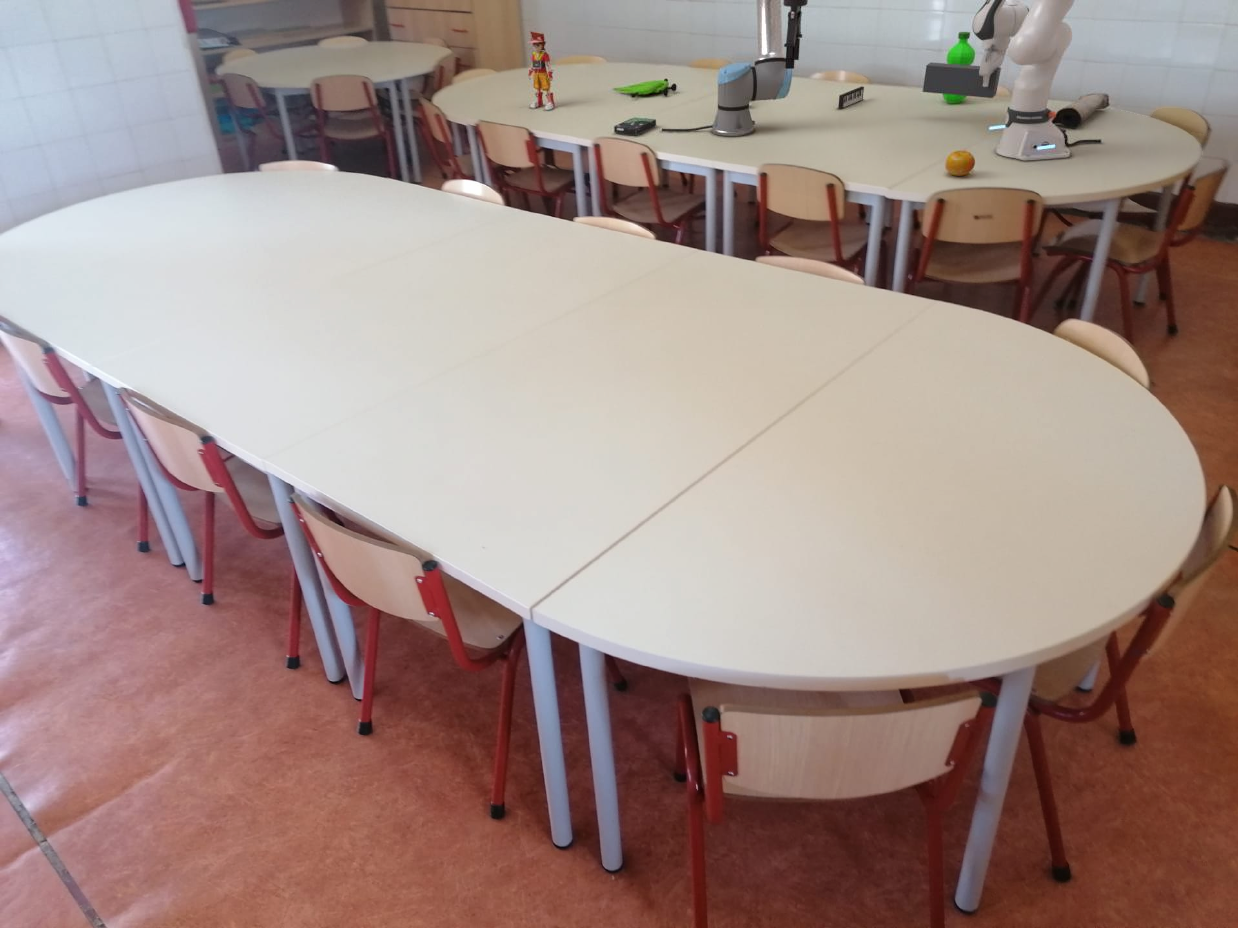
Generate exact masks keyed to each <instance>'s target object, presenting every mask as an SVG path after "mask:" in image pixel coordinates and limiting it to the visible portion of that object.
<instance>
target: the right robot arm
mask: <svg viewBox="0 0 1238 928" xmlns="http://www.w3.org/2000/svg"><path fill="white" fill-rule="evenodd" d="M1075 1H1076V0H1033V2H1032V4H1031V6H1030V7H1028V6H1027V5H1024V4H1023V3H1022V2H1020V0H985V2H984V4H983V5H982V6H981V7H980V8H979V9H978V10H977V12H976V14H975V16H974V18H973V20H972V32H973V34H974V35H975V37H977V38H978V39H979V40H980V41H981V46H980V47H981V49H983V50H984V52H983V53H982V57H981V60H980V64H979V66H980V70H979V75H980V76H983V87H987V86H988V85H989V79H990V75H991V74H992V73H993V72H994V70H995V69H996V68H998V67H999V68H1001V66H1003V63H1004V60H1005V57H1006V54H1007V53H1006V52H1007V51H1008V56H1009V58H1010V60H1011V62H1012V63H1014V64H1016V65H1018V66H1022V67H1021V69H1020V72H1019V73H1018V75H1017V77H1016V78H1015V79H1014V82H1013V86H1012V90H1011V91H1012V92H1011V96H1010V102H1009V106H1008V107H1007V110H1006V113H1005V118H1004V124H1003V125H993V126H989V130H997V129H1003V132H1002V135H1001V138H1000V141H999V142H998V145H997V147H996V149H995V152H996V154H997V155H1000V156H1003V157H1006V158H1011V159H1017V160H1020V161H1023V162H1024V161H1025V162H1026V161H1039V160H1040V161H1041V160H1052V159H1053V160H1054V159H1064V158H1065V159H1067V158H1069V157H1070V155H1071V150H1070V149H1069V148H1070V147H1073V146H1076V145H1078V144H1088V143H1089V144H1091V143H1093V144H1094V143H1095V144H1096V143H1097V144H1098V143H1102V139H1100V138H1099V139H1079V140H1076V141H1073V142H1072V143H1069V139H1068V138H1069V137H1068V134H1067V129H1065V128H1062V127H1061V128H1060V127H1058V126H1057V125H1056V124H1053V123H1052V120H1053V119H1054V117H1056V112H1055V111H1053V110H1051V109H1049V108H1047V105H1048V101H1049V96H1050V93H1051V87H1052V85H1053V80H1054V78H1055V75H1056V73H1057V71H1058V68H1059V66H1060V64H1061V61H1062V59H1063V56H1064V55H1065V52H1066V51H1067V49H1068V48H1069V46H1070V45H1071V42H1072V40H1073V31H1072V28H1071V27H1070V25H1069V24H1068V23H1067V22H1065V21H1063V20H1064V19H1065V17H1066V15H1067V14H1068V13H1069V11H1070V10H1071V9H1072V7H1073V6H1074V3H1075ZM1068 147H1069V148H1068Z"/></svg>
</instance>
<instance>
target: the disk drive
mask: <svg viewBox="0 0 1238 928" xmlns="http://www.w3.org/2000/svg"><path fill="white" fill-rule="evenodd" d="M656 126H657V119H655V118H647V117H646V118H645V117H635V116H634V117H631V118H629V119H627V120H625V121H622V122H620V123H618V124H616V125H614V126H613V131H614V133H615V134H620V135H629V136H638V135H641V134H642V133H644V132H646V131H649V130H651V129H653V128H655V127H656Z"/></svg>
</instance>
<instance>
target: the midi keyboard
mask: <svg viewBox="0 0 1238 928" xmlns="http://www.w3.org/2000/svg"><path fill="white" fill-rule="evenodd" d="M864 91H865V86H862V85H861V86H859V87H857V88H854V89H851V90H849V91H846V92H844V93H842V94H839V96H838V105H837V106H838V107H837V109H839V110H842V109H844V108H846V107H848V106H851V105H852V104H855V103H858V102H859V101H863V100H864Z"/></svg>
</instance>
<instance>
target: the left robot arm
mask: <svg viewBox="0 0 1238 928" xmlns="http://www.w3.org/2000/svg"><path fill="white" fill-rule="evenodd" d="M808 2H809V0H783V6H784V7H790V9H789V11H788V13H787V28H786V29H787V30H786V39H785V43H784V44H783V27H782V26H783V23H782V0H756V17H757V21H756V22H757V50H758V51H757V52H758V53H757V54H758V56H757V58H756V59H755V60H754V66H752V65H751V63H750V62H747V61H743V62H741V61H739V62H732V63H729V64H726V65H724V66H722V67H720V69H719V70H718V75H717V111H716V114H715V118H714V120H713V124H711V125H706V126H700V127H694V128H661V131H662V132H696V131H701V130H706V129H712V133H713V134H715V135H717V136H721V137H741V136H746V135H750V134H752V133H754V127H755V125H756V120H753V118H752V115H751V111H750V107H749V103H750V102H756V101H757V102H758V101H771V100H773V101H776V100H781V99H785V98H787V97H788V95H789V92H790V90H791V85H792V81H793V70H794V69H795V61H799V60H800V44H801V39H802V38H803V34H802V14H803V12H802V7H805V6H808ZM783 47H784V48H786V49H785V54H784V53H783Z"/></svg>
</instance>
